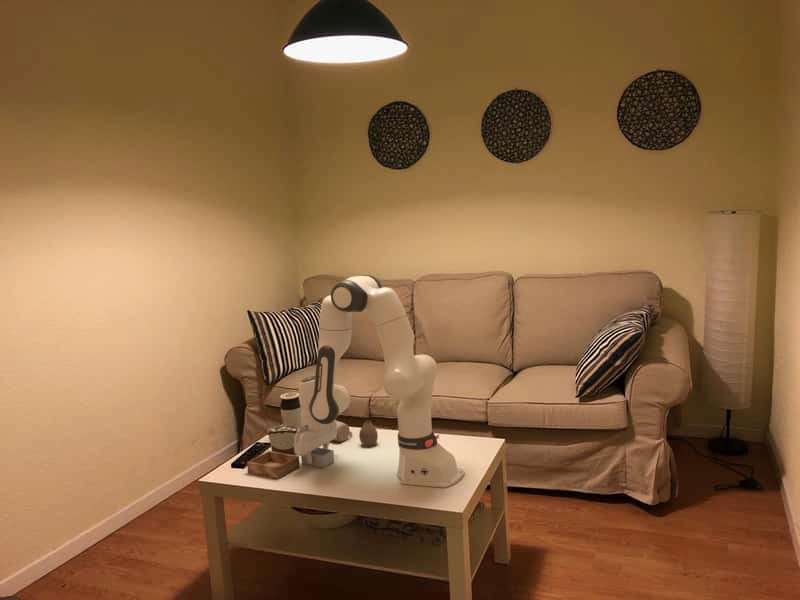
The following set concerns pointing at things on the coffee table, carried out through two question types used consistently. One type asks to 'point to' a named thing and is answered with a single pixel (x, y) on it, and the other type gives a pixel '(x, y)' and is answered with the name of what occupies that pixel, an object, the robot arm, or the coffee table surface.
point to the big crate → (273, 464)
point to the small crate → (320, 458)
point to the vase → (368, 434)
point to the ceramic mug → (342, 432)
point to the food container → (282, 438)
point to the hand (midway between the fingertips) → (317, 458)
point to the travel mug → (291, 409)
